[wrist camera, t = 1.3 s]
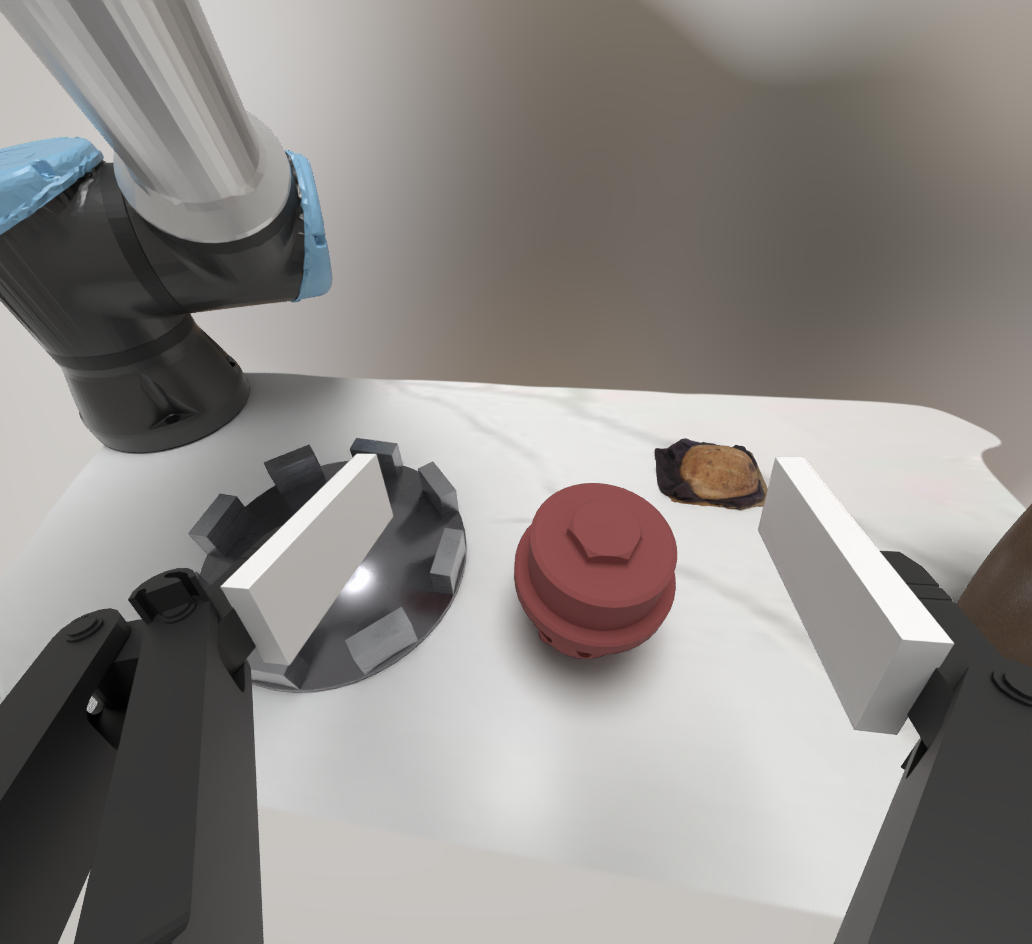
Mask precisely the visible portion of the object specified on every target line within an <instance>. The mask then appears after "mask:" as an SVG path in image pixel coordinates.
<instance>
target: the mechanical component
mask: <svg viewBox="0 0 1032 944" xmlns="http://www.w3.org/2000/svg"><path fill="white" fill-rule="evenodd" d="M676 562H677V546H676V542H675V538H674V535H673V533H672V530H671V528H670V526H669V525H668V523H667V521H666V520H665V518H664V517H663V516H662V515H661V513H660V512H659V511H658V510H657V509H656V508H655V507H654V506H653V505H651V504H650V503H649V502H648V501H646V500H645V499H644V498H642V497H640V496H638V495H637V494H635V493H633V492H631V491H628V490H626V489H624V488H620V487H617V486H613V485H608V484H601V483H585V484H578V485H573V486H570V487H567V488H564V489H562V490H560V491H558V492H556V493H555V494H553V495H552V496H550V497H549V498H548V499H547V500H546V501H545V502H544V503H543V504H542V505H541V506H540V508H539V509H538V511H537V512H536V514H535V516H534V519H533V522H532V524H531V525H530V526H529V527H528V528H527V530H526V531H525V533H524V534H523V536H522V537H521V540H520V542H519V544H518V547H517V551H516V555H515V565H514V580H515V588H516V592H517V595H518V598H519V601H520V603H521V605H522V607H523V609H524V611H525V612H526V614H527V615H528V617H529V618H530V620H531V621H532V622H533V623H534V624H535V625H536V627H537V628H538V629H539V637H540V639H541V640H542V641H543V642H544V643H547V644H550V645H551V646H553V647H554V648H555V649H557V650H558V651H560V652H562V653H564V654H566V655H568V656H572V657H575V658H582V659H590V658H597V657H601V656H603V655H607V654H615V653H620V652H624V651H627V650H630V649H632V648H635V647H637V646H639V645H641V644H642V643H643V642H645V641H646V640H648V639H649V638H650V637H651V636H652V635H653V634H654V633H655V632H656V631H657V630H658V628H659V627H660V625H661V624H662V623H663V621H664V620H665V618H666V617H667V615H668V613H669V611H670V609H671V607H672V604H673V601H674V596H675V590H676V581H675V573H674V571H675V568H676Z"/></svg>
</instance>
